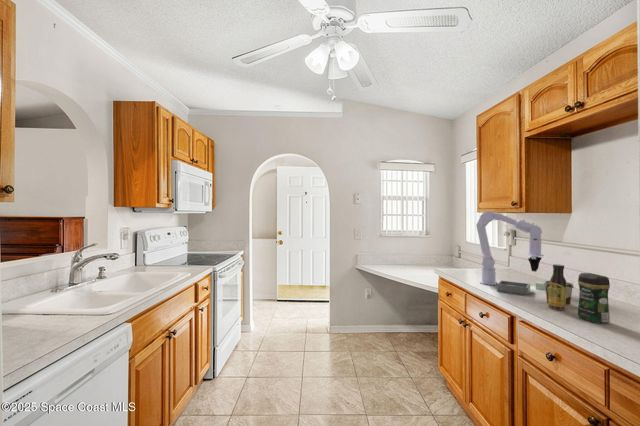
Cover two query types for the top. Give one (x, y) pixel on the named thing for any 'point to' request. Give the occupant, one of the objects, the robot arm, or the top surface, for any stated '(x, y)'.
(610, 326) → the top surface
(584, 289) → the coffee jar
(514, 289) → the tub
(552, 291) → the sauce bottle
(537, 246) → the robot arm
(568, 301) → the food container
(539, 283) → the lid
